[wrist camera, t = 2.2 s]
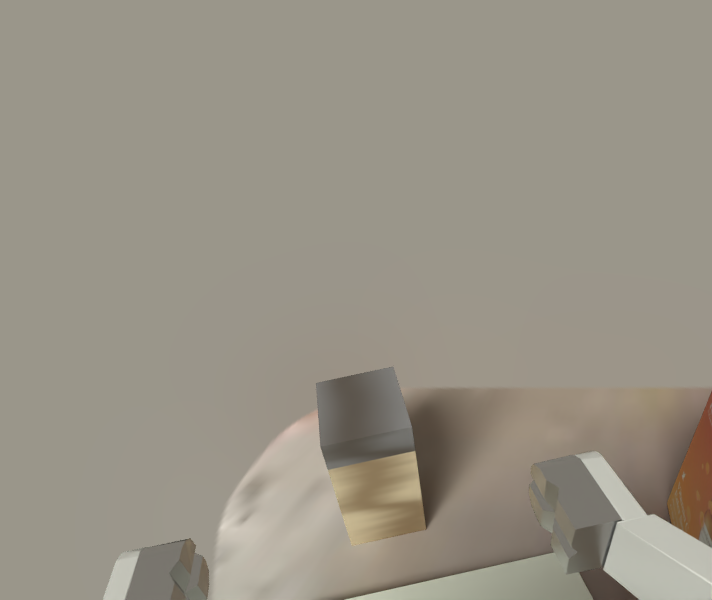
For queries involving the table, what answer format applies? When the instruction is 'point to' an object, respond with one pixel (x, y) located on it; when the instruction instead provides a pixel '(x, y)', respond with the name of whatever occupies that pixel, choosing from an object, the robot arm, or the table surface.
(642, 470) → the table surface
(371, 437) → the maple block
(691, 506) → the small box
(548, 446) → the table surface
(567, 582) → the sage board
